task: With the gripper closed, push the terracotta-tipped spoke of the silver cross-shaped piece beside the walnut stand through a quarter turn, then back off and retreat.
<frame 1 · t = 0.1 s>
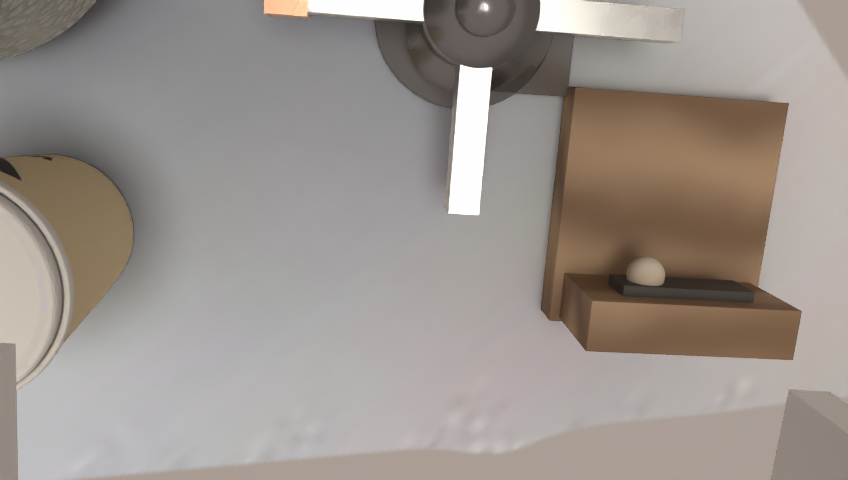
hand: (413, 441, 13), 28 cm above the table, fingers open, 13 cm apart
stand: (652, 207, 41), on the table
coffee cup: (59, 228, 40), on the table
silver cross-shaped piece: (474, 11, 35), point 4 cm above the table, hinge at 0.0°
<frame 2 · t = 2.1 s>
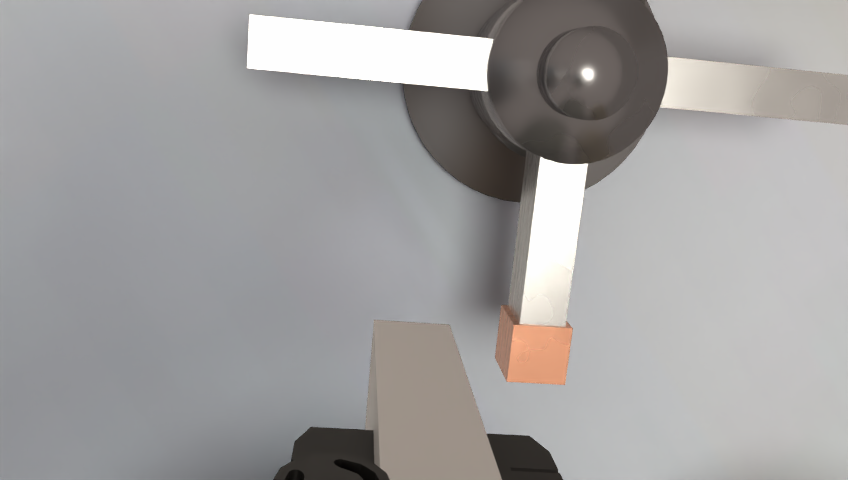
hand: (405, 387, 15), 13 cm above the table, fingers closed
silver cross-shaped piece: (561, 76, 23), point 4 cm above the table, hinge at 0.0°
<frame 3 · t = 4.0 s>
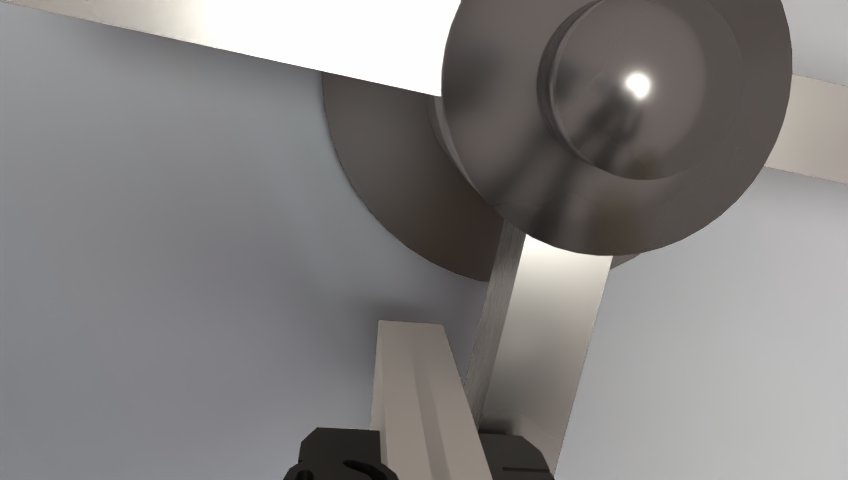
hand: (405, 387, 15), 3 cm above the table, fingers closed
silver cross-shaped piece: (582, 87, 13), point 4 cm above the table, hinge at 2.9°, touching gripper
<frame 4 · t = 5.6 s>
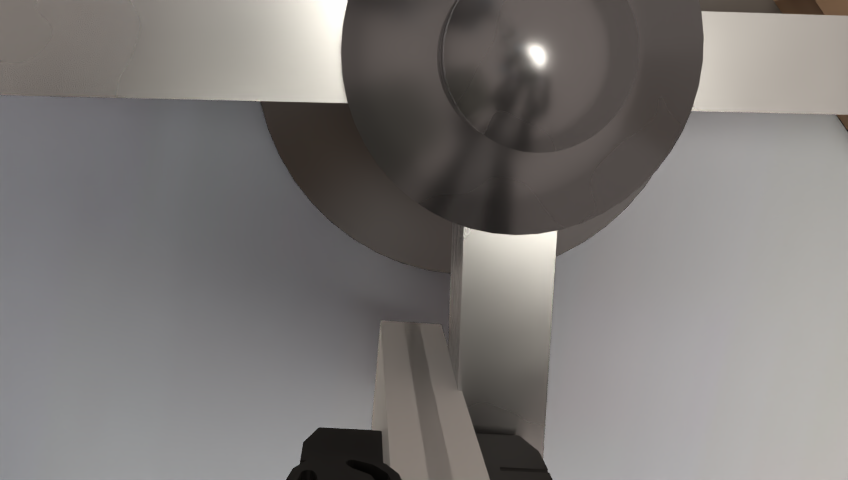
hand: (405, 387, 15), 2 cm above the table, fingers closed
silver cross-shaped piece: (502, 65, 12), point 4 cm above the table, hinge at 48.7°, touching gripper
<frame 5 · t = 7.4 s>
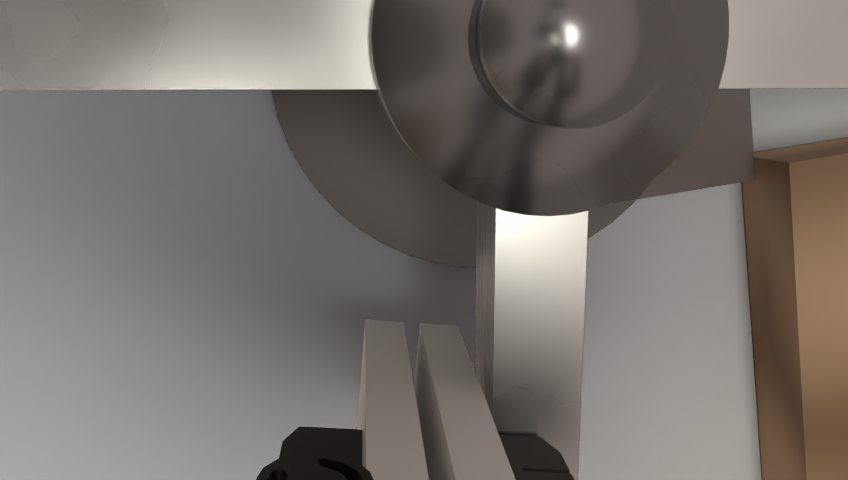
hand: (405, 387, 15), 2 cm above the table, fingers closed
silver cross-shaped piece: (524, 51, 12), point 4 cm above the table, hinge at 81.5°, touching gripper
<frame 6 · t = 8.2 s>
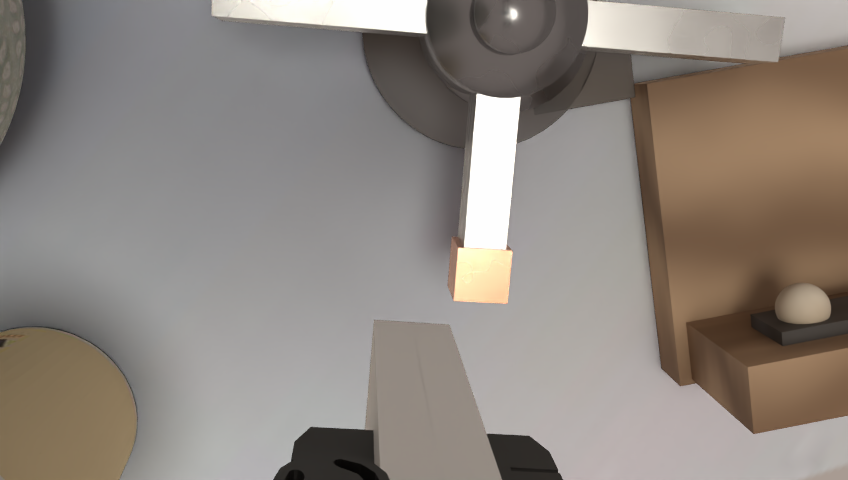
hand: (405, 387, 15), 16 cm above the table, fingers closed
stand: (775, 207, 32), on the table
coffee cup: (43, 414, 31), on the table
silver cross-shaped piece: (497, 23, 25), point 4 cm above the table, hinge at 76.0°
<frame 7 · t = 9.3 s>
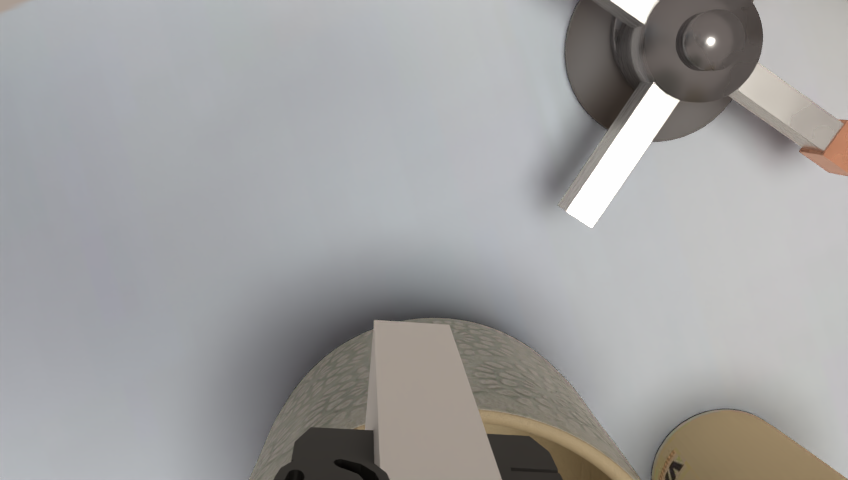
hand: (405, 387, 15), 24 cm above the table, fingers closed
planter: (428, 438, 42), on the table
coffee cup: (717, 471, 43), on the table
silver cross-shaped piece: (688, 45, 34), point 4 cm above the table, hinge at 76.0°
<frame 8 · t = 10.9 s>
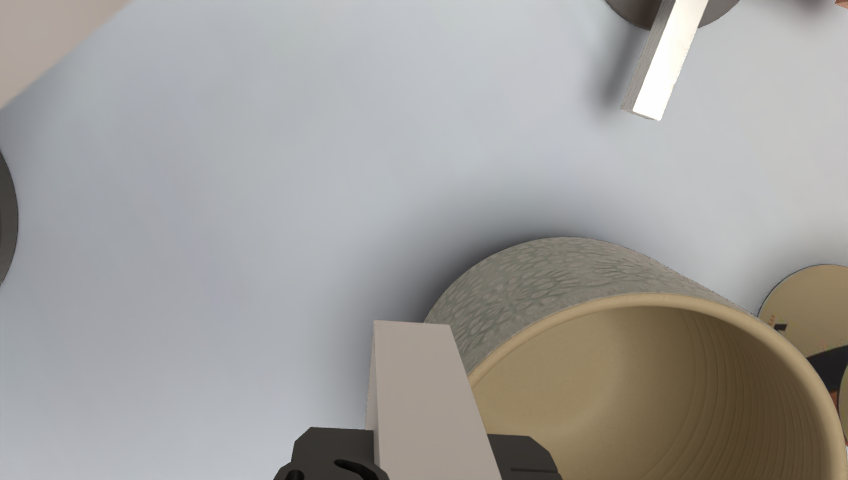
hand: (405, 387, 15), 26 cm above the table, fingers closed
planter: (541, 358, 44), on the table
coffee cup: (815, 326, 45), on the table
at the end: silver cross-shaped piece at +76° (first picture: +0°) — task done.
